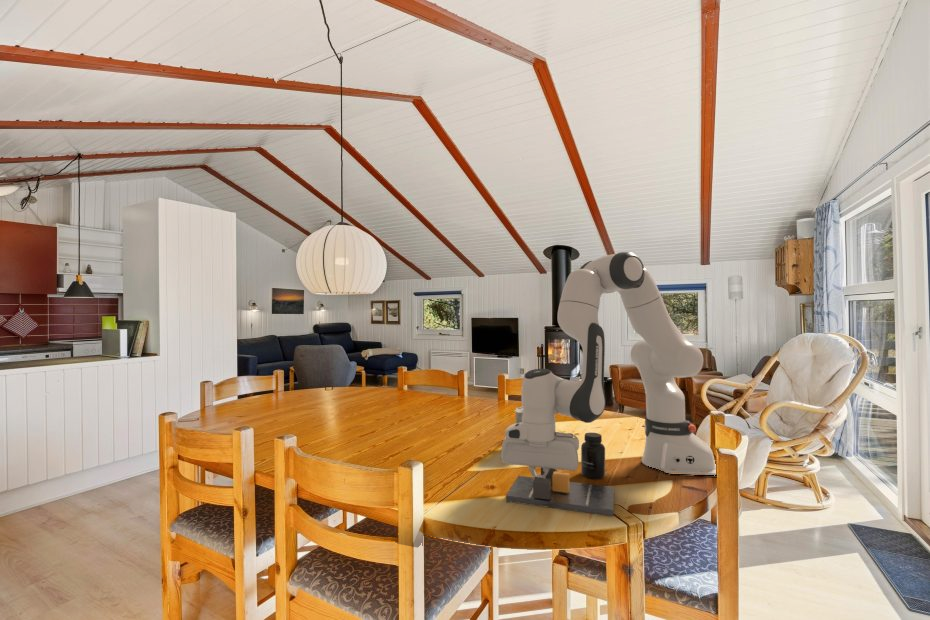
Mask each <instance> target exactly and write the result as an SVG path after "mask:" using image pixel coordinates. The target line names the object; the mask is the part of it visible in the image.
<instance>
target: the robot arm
mask: <svg viewBox="0 0 930 620" xmlns="http://www.w3.org/2000/svg"><path fill="white" fill-rule="evenodd" d="M561 292H562V293H561V297H560V299H559V305H558V310H557V317H556V318H557V323H558V326H559V327H560V329H561V331H563V332H564V334H566V335H567V336H569V337H570V338H572V339H574V340H576V341H577V342H578V343H579V344H580V346H581V349H582V364H581V365H582V366H581V367H582V368H581V369H582V370H581V371H582V372H581V379H580V381H576V380H570V379H566V378H562V377H559V376H557V375H555V374H554V373H553V371H552V370H550V369H548V368H534V369H531V370H529V371H527V372H525V373H524V375H523V377H522V382H521V398H520V399H521V406H522V407H523V415H522V422H520V423H516V422H515V423H513V424H510V425H509V426H507V428H505V431H504V437H505V438H504V439H503V441H502V444H501V450H500V451H501V456H500V457H501V458H500V459H501V462H503V464H505V465H516V466H525V467H529V468H528V471H529V472H530V474H531V477H533V478H534V479H535V477H537V478H545V479H546V475H547V473H548V472H549V469H550V468H552V469H557V470H562V471H563V470H564V471H571V472H575V471H576V470H577V469H578V467H579V452H578V450H579V449H580V440H579V438H578V437H577V436H576V435H574V434H573V433H571V432H567V433H566V432H561V431H560V432H557V431H556V417H555V416H556V415H557V414H558V415H561V416H564V417H568V418H569V417H570V418H573V419H575V420H578V421H579V422H583V423H586V424H589V423H592V422H593V423H594V421H596V420H597V419H599V418H600V417H601V415H602V414H603V413H604V411H605V408H606V404H607V403H606V393H605V387H604V386H605V385H604V382H605V355H606V354H605V352H606V351H605V350H606V349H605V348H606V347H605V346H606V343H605V342H606V341H605V332H604V329H603V327H601V325H600V323H599V308H600V303H601V297H602V294H612V293H614V292H617V293H618V294H619V295H620V298H621V301H622V303H623V306H624V310H625V312H626V313H627V317H628V318H629V322H630V325H631V327H632V329H633V330H634V332H635V333H636V334H638V335H639V336H640V337H641V338H642V339H641V340H638V341H636V342H635V343H634V344H633V345H632V347H631V349H630V359H631V362H632V363H633V365H634V366H635V367H636V368H637V371H638V373H639V374H640V377H641V382H642V383H643V388H644V393H645V404H646V405H645V406H646V407H645V411H646V415H645V418H644V434H645V442H644V450H643V454H642V457H641V463H642V464H643V465H645V466H646V467H648V466H649V468H650V467H652V468H651V469H653V468H656V469H659V470H661V471H664V472H666V473H682V474H705V475H714V476H713V477H716V476H715V475H716V464H715V461H716V460H715V457H714V453H713V450H712V448H711V447H710V445H709V444H707V443H706V442H705V441H704V440H702V439H701V438H700V437H698V436H697V435H696V434H695V432H696V431H697V427H696V425H694V424H693V423H692V422H691V421H689V420H687V419H686V401H685V400H686V397H685V394H684V392H683V391H682V390H681V388H680V387H679V386H678V385H677V382H676V379H675V378H677V379H678V378H679V379H680V378H682V379H683V378H692V377H695V376H697V375H698V374H699V373H700V372H701V371H702V369H703V366H704V355H703V353H702V351H701V349H700V348H699V347H698V346H696V345H695V344H694V343H692V342H691V341H689V340H688V339H687V337H685V336H684V334H683V333H682V332H681V331H680V330H679V328H678V327H677V326H676V324H675V323H674V321H673V319H672V318H671V316H670V314H669V312H668V310H667V307H666V304H665V301H664V298H663V297H662V294H661V292H660V290H659V288H658V286H657V283H656V282H655V279H654V277H653V276H652V275H651V273H650V272H649V270H648V269H647V268H645V267H644V264H643V262H642V260H641V258H640V257H639V256H638V255H637V254H635V253H634V252H628V251H623V252H618V253H613V254H607V255H603V256H601V257H599V258H596V259H593V260H589V261H587V262H585V263H583V265H581V266H580V268H577V269H575V270H573V271H571V272H570V273H569V275H568V276H567V278H566V281H565V283H564V286H563V289H562V291H561ZM541 467H542V468H543V471H544V472H545V473H544V474H543V475H541V474H538V473H537V472H536V468H541ZM656 469H655V470H656ZM659 470H658V471H659ZM661 471H660V472H661Z"/></svg>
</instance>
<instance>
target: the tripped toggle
mask: <svg viewBox="0 0 930 620" xmlns="http://www.w3.org/2000/svg"><path fill="white" fill-rule="evenodd" d="M569 482H570V473H569V472H561V471H557V472H554V473H553V475H552V489H553V491H557V492H565V493H568V492H569V489H570V485H569Z"/></svg>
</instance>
